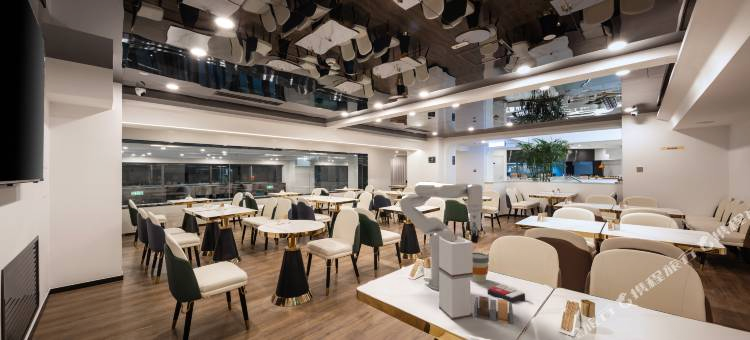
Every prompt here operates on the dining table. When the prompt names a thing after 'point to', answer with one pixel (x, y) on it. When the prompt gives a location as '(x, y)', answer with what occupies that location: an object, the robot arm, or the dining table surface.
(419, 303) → the dining table surface
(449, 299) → the banded white column
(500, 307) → the tan tall block
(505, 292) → the calculator
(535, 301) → the dining table surface
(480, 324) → the dining table surface
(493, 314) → the grey slotted rack
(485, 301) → the walnut plug
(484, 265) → the reusable coffee cup
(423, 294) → the dining table surface
